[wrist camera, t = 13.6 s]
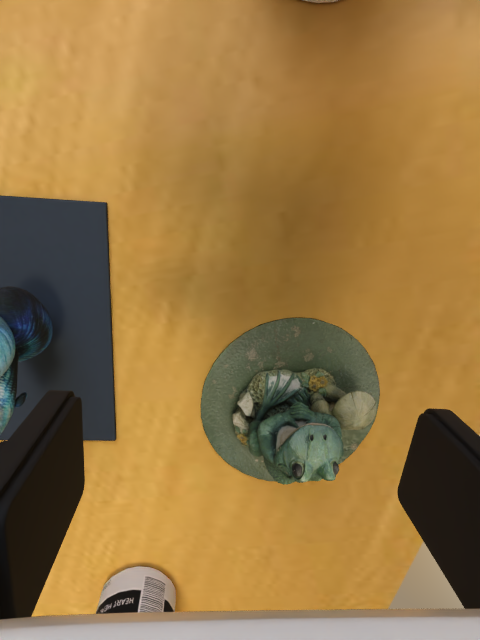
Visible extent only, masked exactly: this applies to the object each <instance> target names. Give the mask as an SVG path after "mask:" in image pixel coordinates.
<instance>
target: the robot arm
mask: <svg viewBox="0 0 480 640" xmlns="http://www.w3.org/2000/svg"><path fill="white" fill-rule="evenodd" d="M303 1H309V2H314V3H326V2H335V1H339V0H303ZM84 482H85V478H84V451H83V423H82V401H81V398H80V397H75V395H74V392H73V391H60V390H49V391H48V392H47V393H46V394H45V395H44V396H43V397H42V399H41V400H40V401H39V402H38V404H37V405H36V406H35V407H34V409H33V410H32V411H31V412H30V414H29V415H28V416H27V417H26V418H25V420H24V421H23V422H22V423H21V425H20V426H19V427H18V428H17V430H16V431H15V432H14V433H13V434H12V436H11V437H10V438H9V439H8V441H3V442H1V443H0V640H480V436H479V435H477V434H476V433H475V432H474V431H473V430H472V429H471V428H470V427H469V426H468V425H466V424H465V423H464V422H463V421H462V420H461V419H460V418H459V417H458V416H457V415H455V414H454V413H453V412H452V411H450V410H447V409H427V410H426V411H425V412H424V413H422V414H421V415H420V416H419V418H418V421H417V424H416V428H415V431H414V435H413V438H412V441H411V445H410V448H409V452H408V455H407V459H406V462H405V466H404V469H403V473H402V476H401V479H400V483H399V486H398V498H399V501H400V503H401V505H402V507H403V508H404V510H405V511H406V513H407V515H408V516H409V518H410V520H411V521H412V523H413V525H414V526H415V528H416V529H417V531H418V533H419V534H420V536H421V538H422V539H423V541H424V542H425V544H426V546H427V547H428V549H429V551H430V552H431V554H432V556H433V557H434V559H435V560H436V562H437V564H438V565H439V567H440V569H441V570H442V572H443V573H444V575H445V577H446V578H447V580H448V582H449V583H450V585H451V586H452V588H453V590H454V591H455V593H456V595H457V596H458V598H459V600H460V601H461V603H462V605H463V606H464V608H465V609H348V610H259V611H199V612H139V613H108V614H80V615H51V616H36V617H31V616H32V613H33V611H34V609H35V606H36V604H37V601H38V599H39V597H40V594H41V592H42V589H43V587H44V585H45V582H46V580H47V578H48V575H49V573H50V570H51V568H52V566H53V563H54V561H55V558H56V556H57V554H58V551H59V549H60V547H61V544H62V542H63V539H64V537H65V535H66V532H67V530H68V528H69V525H70V523H71V520H72V518H73V516H74V513H75V511H76V508H77V506H78V504H79V501H80V499H81V496H82V494H83V490H84Z"/></svg>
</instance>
